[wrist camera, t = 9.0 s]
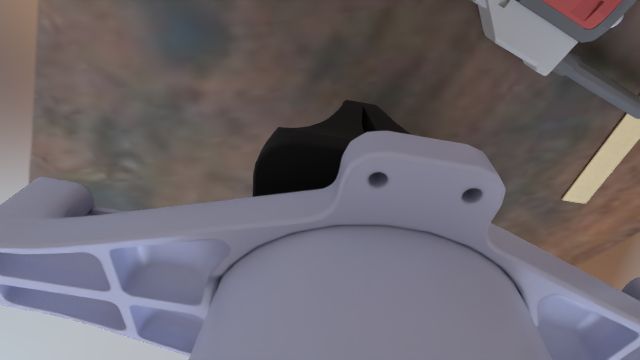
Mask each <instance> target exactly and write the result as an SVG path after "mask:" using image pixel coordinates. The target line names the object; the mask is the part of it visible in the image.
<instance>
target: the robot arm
mask: <svg viewBox="0 0 640 360" xmlns="http://www.w3.org/2000/svg"><path fill="white" fill-rule="evenodd" d="M505 191H506V188H505V187H504V185H503V183H502V181H501V179H500V177H499V175H498V173H497V172H496V170H495V169H494V167H493V166H492V164H491V163H490V161H489V160H488V158H487V157H486V155H485V154H484V152H483V151H481V150H478V149H476V148H474V147H472V146H470V145H468V144H462V143H457V142H451V141H445V140H439V139H433V138H427V137H422V136H416V135H411V134H410V133H408V132H407V131H406V130H404V129H403V128H402V127H400V126H399V125H398V124H397V123H395V122H394V121H393V120H392V119H391V118H390V117H389V116H388V115H387V114H385V113H384V112H383V111H382V110H381V109H380V108H379V107H378V106H376V105H372V104H367V103H361V102H355V101H349V100H346V101H344V102H343V105H342V106H341V107H340V108H339V109H338V111H337V112H336V113H335V114H333V115H332V116H331V117H330V118H328V119H327V120H325V121H323V122H321V123H318V124H315V125H312V126H308V127H302V128H282V127H278V128H277V129H276V131H275V132H274V133H273V134H272V136H271V137H270V138H269V140H268V141H267V142H266V144H265V145H264V147H263V149H262V150H261V152H260V155H259V157H258V159H257V161H256V164H255V169H254V174H253V197H247V198H239V199H230V200H222V201H213V202H205V203H196V204H188V205H179V206H171V207H162V208H154V209H145V210H137V211H128V212H126V211H120V210H114V209H108V208H102V207H95V205H94V200H93V197H92V194H91V192H90V191H89V189H88V188H86V187H85V186H84V185H82V184H79V183H76V182H71V181H65V180H59V179H52V178H46V177H38V178H37V179H36V180H34V181H33V182H31V183H30V184H29V185H27V186H26V187H25V188H23V189H22V190H20V191H19V192H18V193H16V194H15V195H13V196H12V197H11V198H9V199H8V200H7V201H5V202H4V203H2V204H1V205H0V303H1V304H2V305H3V306H8V307H14V308H20V309H25V310H31V311H36V312H41V313H45V314H50V315H54V316H58V317H62V318H66V319H71V320H74V321H77V322H81V323H84V324H88V325H92V326H95V327H98V328H101V329H105V330H108V331H111V332H114V333H117V334H120V335H124V336H127V337H130V338H133V339H137V340H139V341H143V342H146V343H149V344H152V345H155V346H158V347H161V348H165V349H168V350H171V351H174V352H177V353H181V354H184V355H187V356H190V357H189V360H640V277H639V278H636V279H634V280H632V281H630V282H629V283H628V284H627V285H626V286H625V287H624V288H623V289H622V291H620V290H618V289H616V288H614V287H612V286H611V285H609V284H607V283H605V282H603V281H601V280H599V279H597V278H595V277H593V276H592V275H589V274H587V273H586V272H584V271H582V270H580V269H578V268H576V267H574V266H573V265H571V264H569V263H567V262H565V261H563V260H561V259H559V258H557V257H555V256H554V255H552V254H550V253H548V252H546V251H544V250H542V249H540V248H538V247H536V246H535V245H533V244H531V243H529V242H527V241H525V240H523V239H521V238H519V237H517V236H516V235H514V234H512V233H510V232H508V231H506V230H504V229H502V228H500V227H498V226H497V225H495V224H493V223H491V221H492V219H493V218H494V216H495V215H496V213H497V212H498V210H499V208H500V207H501V205H502V202H503V198H504V194H505Z"/></svg>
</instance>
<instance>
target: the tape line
mask: <svg viewBox="0 0 640 360" xmlns="http://www.w3.org/2000/svg"><path fill="white" fill-rule="evenodd" d="M639 97H640V96H639ZM639 138H640V119H636V118H634V117H632V116H631V115H629V114H627V113H626V114H625V116H624V117H623V118H622V120H621V121H620V122H619V124H618V125H617V126H616V128H615V129H614V130H613V132H612V133H611V134H610V136H609V137H608V138H607V139H606V141H605V142H604V143H603V145H602V146H601V147H600V149H599V150H598V151H597V153H596V154H595V155H594V157H593V158H592V159H591V161H590V162H589V163H588V165H587V166H586V167H585V169H584V170H583V171H582V172H581V174H580V175H579V176H578V178H577V179H576V180H575V182H574V183H573V184H572V186H571V187H570V188H569V190H568V191H567V192H566V194H565V195H564V196H563V198H562V199H561V200H565V201H572V202H578V203H584V204H586V203H587V201H588V200H589V199H590V198H591V197H592V195H593V194H594V193H595V192H596V190H597V189H598V188H599V187H600V186H601V184H602V183H603V182H604V181H605V180H606V178H607V177H608V176H609V175H610V174H611V172H612V171H613V170H614V169H615V167H616V166H617V165H618V164H619V163H620V161H621V160H622V159H623V158H624V157H625V155H626V154H627V153H628V152H629V150H630V149H631V148H632V147H633V146H634V144H635V143H636V142H637V141H638V140H639Z"/></svg>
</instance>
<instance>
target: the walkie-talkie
mask: <svg viewBox="0 0 640 360" xmlns="http://www.w3.org/2000/svg"><path fill="white" fill-rule="evenodd" d="M471 1H473V2H474V3H476V4H478V8H479V13H480V17H481V22H482V27H483V31H484V34H485V36H486V37H487V38H489V39H490V40H492V41H493V42H495V43H497V44H498V45H500V46H501V47H503V48H505V49H506V50H508V51H510V52H511V53H513V54H514V55H516V56H518V57H519V58H521V59H523V63H524V64H525V65H527V66H529V67H530V68H532V69H533V70H535V71H536V72H538V73H540V74H542V75H543V76H546V75H548V74H549V73H550V72H551V71H554V72H555V73H557V74H559V75H565V76H567V77H569V78H570V79H572V80H574V81H575V82H577V83H579V84H580V85H582V86H583V87H585V88H587V89H588V90H590V91H592V92H593V93H595V94H596V95H598V96H600V97H601V98H603V99H605V100H606V101H608V102H610V103H611V104H613V105H614V106H616V107H618V108H619V109H621V110H623V111H624V112H626V113H627V114H629V115H631V116H632V117H634V118H636V119H640V97H638V96H636V95H635V94H633V93H632V92H630V91H628V90H627V89H625V88H624V87H622V86H620V85H619V84H617V83H616V82H614V81H612V80H611V79H609V78H608V77H606V76H604V75H603V74H601V73H600V72H598V71H596V70H595V69H593V68H592V67H590V66H589V65H587V64H585V63H584V62H582V61H581V60H580V56H579V55H577V54H576V53H574V52H573V51H571V49H572V48H573V47H574V46H575V45H576V44H577V43H578V41H579V42H582V43H583V42H589V41H594V40H595V39H597V38H598V37H599V36H601V35H602V34H604V33H605V32H606V31H607V30H609V29H610V28H612V27H614V26H616V25H617V24H619V23H620V22H621V21H622V19H623V17H624V13H625V12H626V11H627V10H628V9H629V8H630V7H631V6H632V5H633V4H634V3H635V2H636V1H637V0H471Z"/></svg>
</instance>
